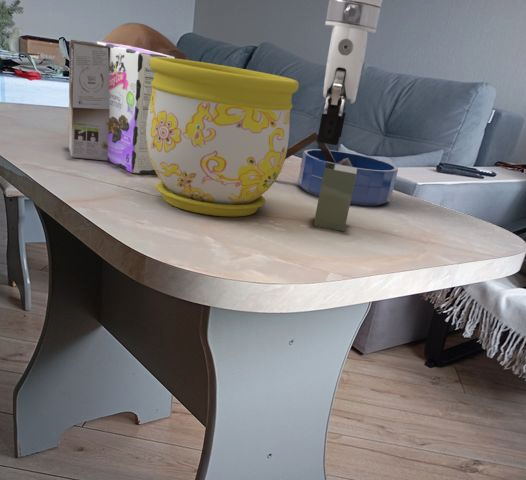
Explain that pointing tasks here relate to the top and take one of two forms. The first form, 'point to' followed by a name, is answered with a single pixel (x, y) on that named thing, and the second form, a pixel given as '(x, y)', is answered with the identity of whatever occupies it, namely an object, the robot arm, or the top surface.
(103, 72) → the coffee box
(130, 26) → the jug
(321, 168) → the bowl
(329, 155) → the wooden gallows stand
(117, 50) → the candy box
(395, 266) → the top surface
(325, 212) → the olive green upright block
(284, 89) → the flowerpot
